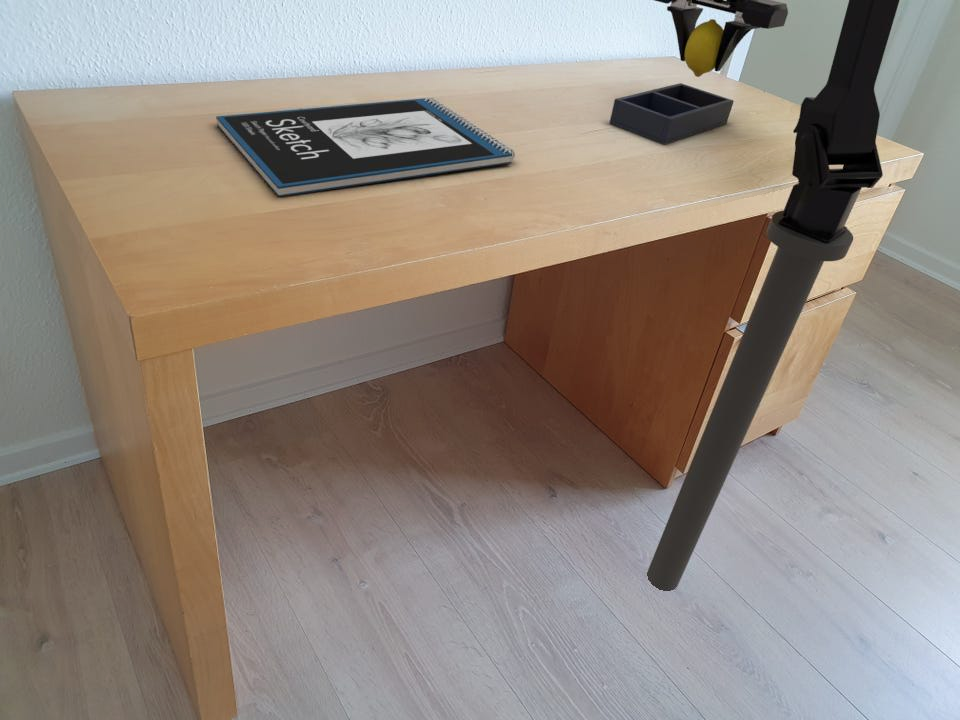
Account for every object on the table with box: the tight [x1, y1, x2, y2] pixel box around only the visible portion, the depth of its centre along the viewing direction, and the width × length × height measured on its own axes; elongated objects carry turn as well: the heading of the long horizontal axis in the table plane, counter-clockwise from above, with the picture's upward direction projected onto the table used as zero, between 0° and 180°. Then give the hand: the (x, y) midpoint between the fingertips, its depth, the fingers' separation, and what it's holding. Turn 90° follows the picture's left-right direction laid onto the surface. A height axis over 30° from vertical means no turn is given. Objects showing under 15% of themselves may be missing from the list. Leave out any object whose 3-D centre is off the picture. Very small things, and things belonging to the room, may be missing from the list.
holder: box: [609, 82, 735, 145], centre depth 107 cm, size 10×18×4 cm, turn 136°
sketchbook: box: [215, 96, 516, 198], centre depth 87 cm, size 22×30×2 cm
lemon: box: [684, 18, 724, 78], centre depth 105 cm, size 6×6×8 cm
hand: (700, 65), depth 106 cm, fingers closed on lemon, 5 cm apart
